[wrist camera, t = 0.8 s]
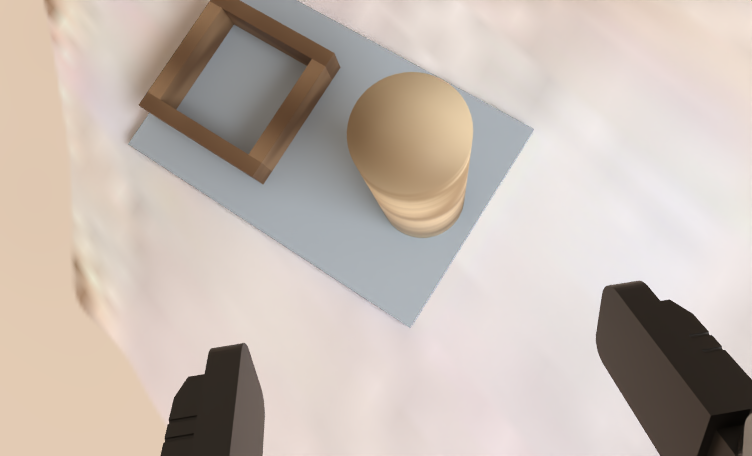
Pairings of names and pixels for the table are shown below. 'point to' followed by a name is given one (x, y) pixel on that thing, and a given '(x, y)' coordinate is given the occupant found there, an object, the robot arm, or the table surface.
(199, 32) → the socket collar
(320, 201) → the board
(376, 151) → the maple pillar
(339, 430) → the table surface
